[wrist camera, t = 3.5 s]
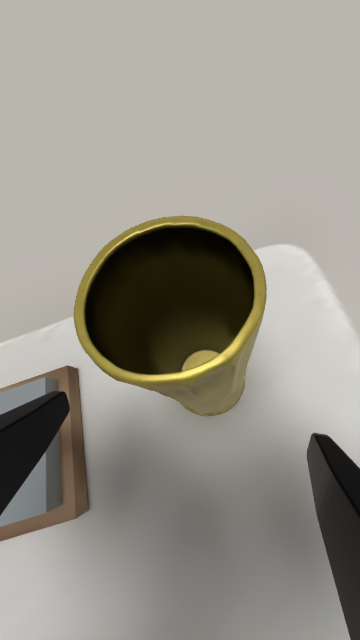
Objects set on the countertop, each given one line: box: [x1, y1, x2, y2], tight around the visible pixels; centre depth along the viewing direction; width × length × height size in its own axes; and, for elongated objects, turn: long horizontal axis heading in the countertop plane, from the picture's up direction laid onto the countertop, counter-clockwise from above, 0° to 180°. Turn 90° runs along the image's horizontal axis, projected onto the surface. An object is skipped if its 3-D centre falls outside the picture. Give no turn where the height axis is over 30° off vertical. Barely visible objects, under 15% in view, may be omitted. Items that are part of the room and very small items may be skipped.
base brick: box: [0, 366, 88, 541], centre depth 19 cm, size 11×13×2 cm
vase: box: [74, 216, 267, 416], centre depth 12 cm, size 6×6×14 cm
